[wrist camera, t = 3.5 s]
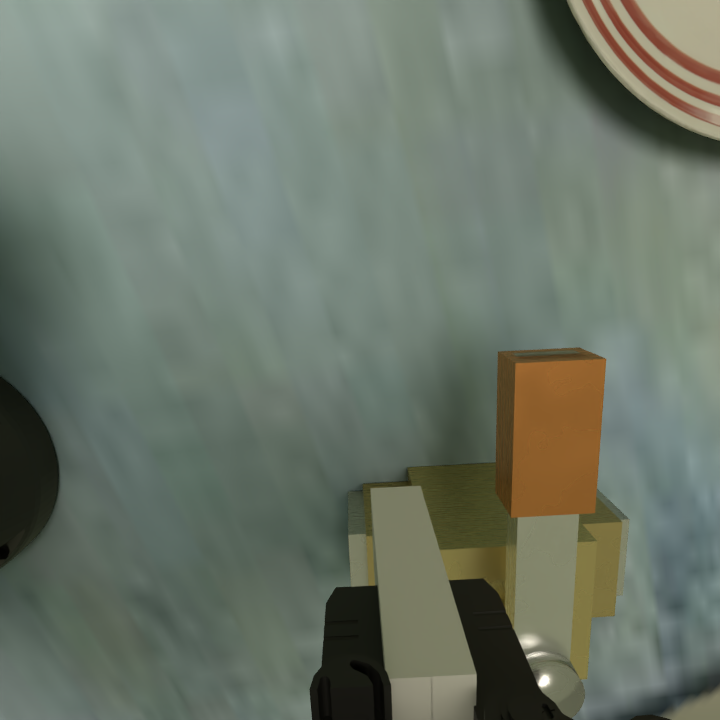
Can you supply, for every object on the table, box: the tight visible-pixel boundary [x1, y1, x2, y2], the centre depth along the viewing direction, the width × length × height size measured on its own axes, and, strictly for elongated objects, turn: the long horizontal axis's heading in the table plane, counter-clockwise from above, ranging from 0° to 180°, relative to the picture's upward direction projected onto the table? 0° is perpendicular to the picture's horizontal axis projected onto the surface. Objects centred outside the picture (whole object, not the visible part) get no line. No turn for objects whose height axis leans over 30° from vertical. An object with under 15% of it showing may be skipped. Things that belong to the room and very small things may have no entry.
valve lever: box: [495, 348, 606, 718], centre depth 20 cm, size 3×16×4 cm, turn 2°
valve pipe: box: [348, 463, 629, 679], centre depth 28 cm, size 16×8×9 cm, turn 93°
